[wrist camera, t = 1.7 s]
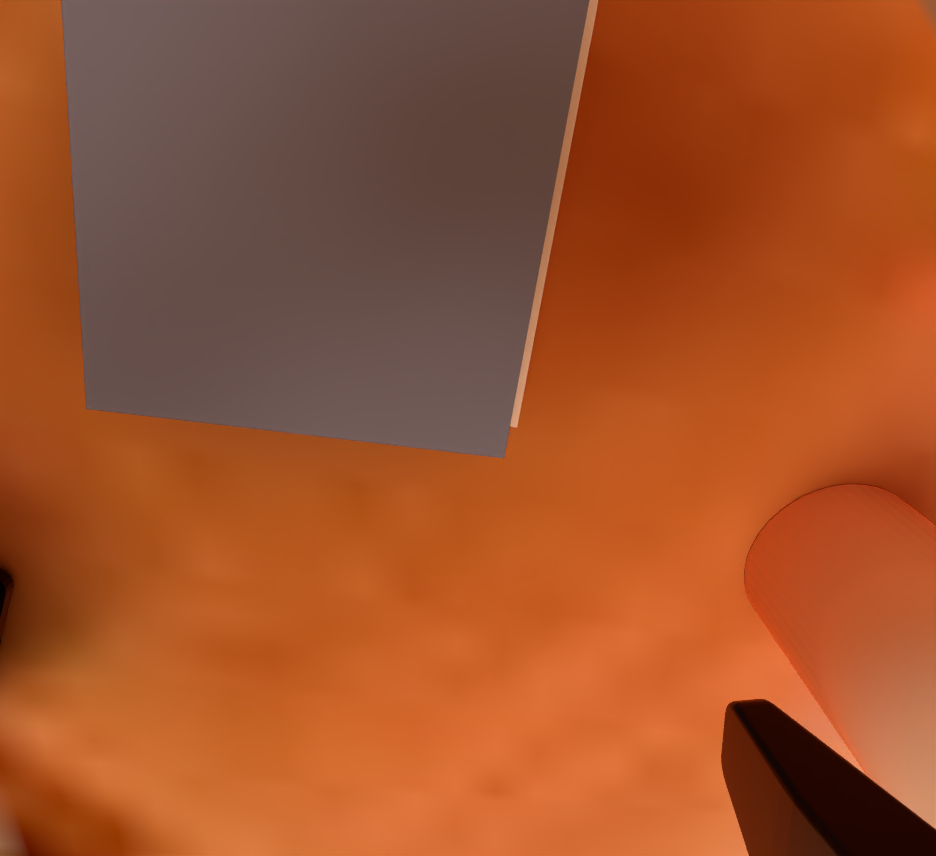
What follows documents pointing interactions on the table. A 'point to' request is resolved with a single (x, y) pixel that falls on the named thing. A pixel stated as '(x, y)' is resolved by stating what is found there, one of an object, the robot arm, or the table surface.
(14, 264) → the table surface
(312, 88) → the gray book
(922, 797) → the pen cup
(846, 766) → the robot arm
